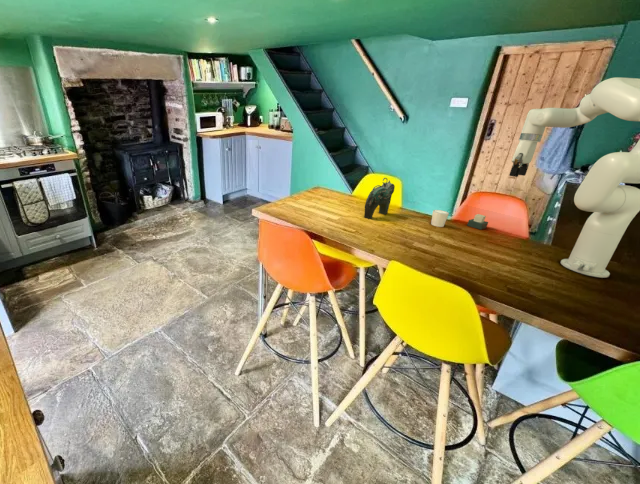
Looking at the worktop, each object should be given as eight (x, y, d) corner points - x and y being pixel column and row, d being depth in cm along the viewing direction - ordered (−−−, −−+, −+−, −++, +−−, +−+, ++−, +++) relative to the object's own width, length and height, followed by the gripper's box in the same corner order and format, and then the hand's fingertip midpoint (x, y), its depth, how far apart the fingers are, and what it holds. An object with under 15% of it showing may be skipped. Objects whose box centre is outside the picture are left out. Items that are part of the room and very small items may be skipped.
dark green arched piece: (381, 211, 167) (388, 175, 160) (392, 214, 162) (400, 177, 155) (360, 216, 155) (367, 178, 148) (371, 220, 151) (379, 181, 144)
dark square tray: (480, 229, 147) (482, 224, 146) (467, 225, 152) (468, 220, 150) (486, 227, 150) (488, 222, 149) (472, 223, 155) (474, 218, 154)
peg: (479, 228, 148) (482, 216, 146) (471, 226, 151) (475, 214, 149) (482, 227, 150) (486, 216, 148) (474, 225, 153) (478, 214, 151)
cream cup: (445, 224, 151) (449, 211, 148) (445, 228, 145) (449, 214, 143) (430, 221, 154) (433, 208, 152) (429, 225, 149) (432, 211, 146)
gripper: (526, 137, 143) (514, 173, 149) (513, 137, 134) (500, 175, 140) (546, 139, 137) (533, 176, 143) (534, 138, 128) (520, 178, 134)
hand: (517, 175), depth 141 cm, fingers open, 9 cm apart
